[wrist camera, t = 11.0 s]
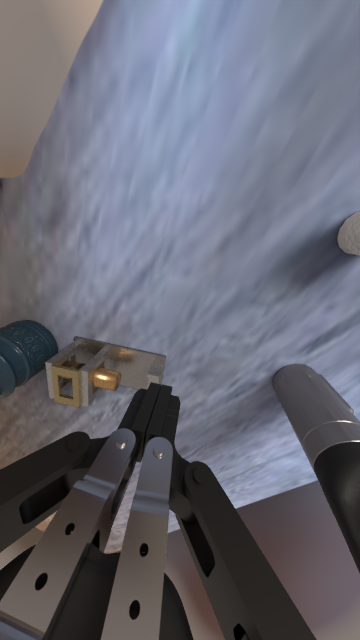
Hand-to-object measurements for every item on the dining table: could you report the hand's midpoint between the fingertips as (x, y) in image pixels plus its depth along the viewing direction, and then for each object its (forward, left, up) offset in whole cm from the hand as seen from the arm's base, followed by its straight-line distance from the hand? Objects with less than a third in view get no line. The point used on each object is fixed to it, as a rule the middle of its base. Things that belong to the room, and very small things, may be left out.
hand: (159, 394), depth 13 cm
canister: (+36, +19, -27) cm, 49 cm away
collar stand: (+14, +20, -27) cm, 36 cm away
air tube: (+18, +20, -24) cm, 36 cm away
